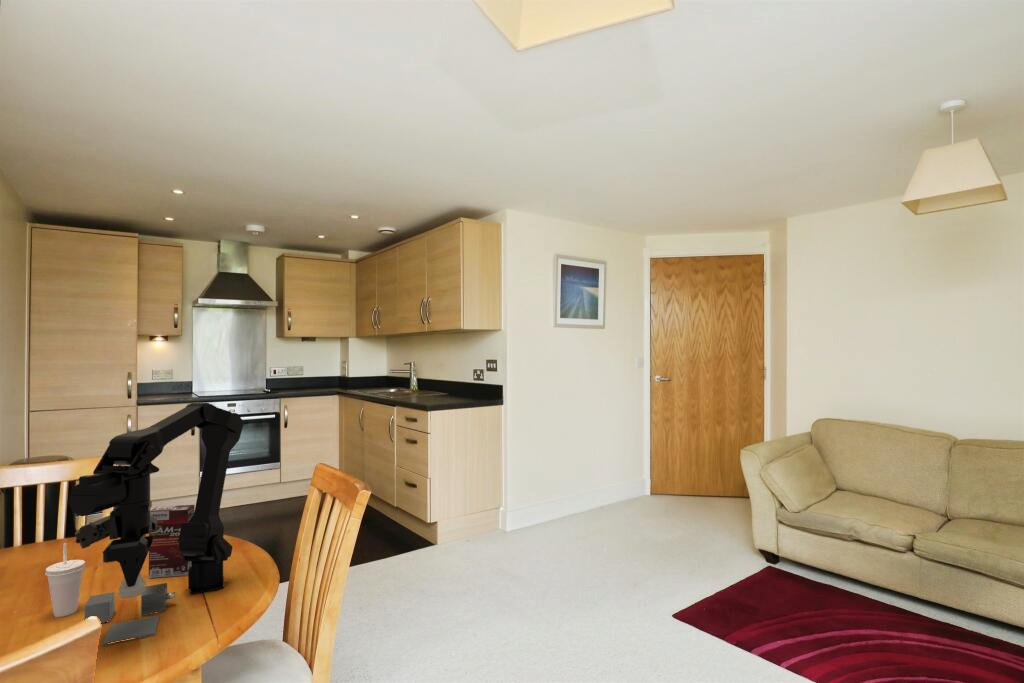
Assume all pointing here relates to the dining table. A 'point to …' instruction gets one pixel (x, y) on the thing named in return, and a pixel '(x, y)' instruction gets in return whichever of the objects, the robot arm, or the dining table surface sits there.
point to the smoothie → (65, 584)
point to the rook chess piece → (132, 588)
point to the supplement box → (168, 541)
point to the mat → (131, 629)
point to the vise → (150, 602)
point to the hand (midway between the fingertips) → (132, 582)
